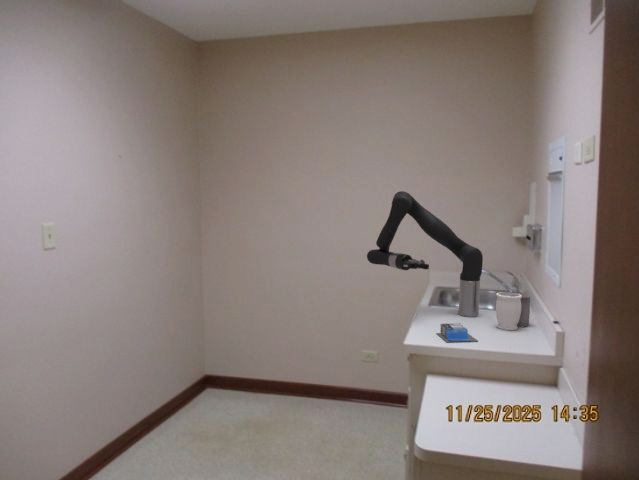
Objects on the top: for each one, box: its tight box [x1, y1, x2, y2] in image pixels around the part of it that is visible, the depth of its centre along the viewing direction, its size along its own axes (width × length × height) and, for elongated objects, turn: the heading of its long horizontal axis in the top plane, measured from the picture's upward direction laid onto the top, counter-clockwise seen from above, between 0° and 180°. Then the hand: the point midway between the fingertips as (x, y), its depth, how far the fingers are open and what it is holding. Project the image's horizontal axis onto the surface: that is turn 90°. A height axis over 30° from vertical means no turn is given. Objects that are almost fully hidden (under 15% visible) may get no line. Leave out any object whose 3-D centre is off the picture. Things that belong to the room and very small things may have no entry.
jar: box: [495, 291, 522, 331], centre depth 207 cm, size 11×10×15 cm
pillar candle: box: [510, 291, 531, 328], centre depth 213 cm, size 10×10×15 cm
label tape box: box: [439, 322, 471, 341], centre depth 194 cm, size 9×4×12 cm
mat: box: [436, 332, 479, 344], centre depth 194 cm, size 12×13×1 cm
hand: (427, 267), depth 212 cm, fingers closed
